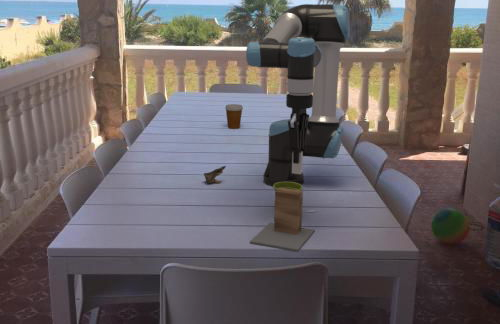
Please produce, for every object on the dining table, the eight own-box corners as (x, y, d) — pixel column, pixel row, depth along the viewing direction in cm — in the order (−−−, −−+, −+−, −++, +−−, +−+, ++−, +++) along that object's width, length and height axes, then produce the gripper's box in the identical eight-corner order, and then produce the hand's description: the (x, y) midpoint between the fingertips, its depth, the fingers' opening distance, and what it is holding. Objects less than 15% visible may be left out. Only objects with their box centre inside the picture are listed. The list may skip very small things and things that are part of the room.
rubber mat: (269, 224, 179) (270, 222, 178) (314, 231, 174) (314, 229, 173) (249, 243, 164) (249, 241, 164) (297, 251, 159) (298, 249, 159)
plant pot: (299, 206, 195) (300, 181, 192) (303, 216, 186) (304, 190, 183) (271, 206, 194) (272, 181, 192) (273, 216, 185) (274, 190, 183)
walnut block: (278, 226, 175) (279, 187, 172) (301, 229, 173) (302, 190, 170) (274, 230, 172) (275, 191, 169) (297, 234, 169) (298, 194, 166)
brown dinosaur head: (223, 182, 223) (224, 165, 222) (225, 185, 217) (227, 166, 216) (202, 181, 222) (203, 163, 221) (203, 183, 215) (205, 165, 215)
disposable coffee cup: (223, 126, 320) (223, 104, 317) (239, 125, 323) (240, 103, 320) (227, 130, 311) (227, 107, 308) (245, 129, 314) (245, 106, 311)
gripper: (294, 89, 176) (291, 166, 182) (279, 95, 164) (277, 177, 170) (318, 91, 173) (315, 169, 179) (305, 97, 161) (302, 180, 167)
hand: (296, 173), depth 175 cm, fingers closed
